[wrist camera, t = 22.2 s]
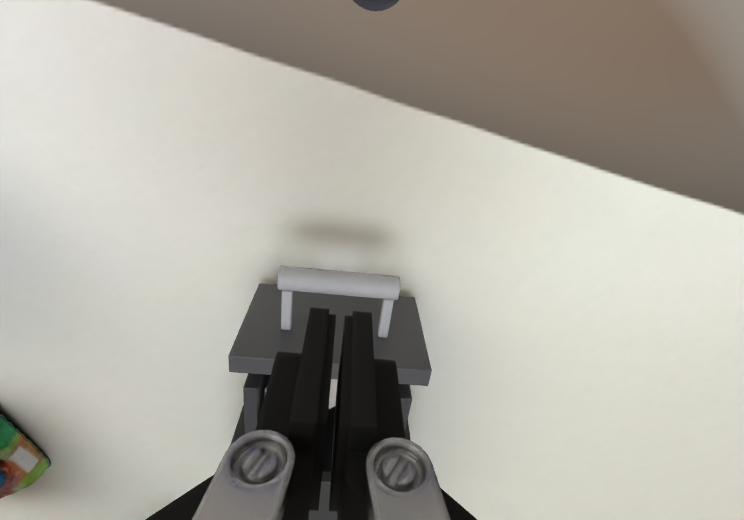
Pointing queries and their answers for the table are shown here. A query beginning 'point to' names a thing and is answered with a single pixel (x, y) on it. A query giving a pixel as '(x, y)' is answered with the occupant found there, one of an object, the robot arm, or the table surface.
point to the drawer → (341, 296)
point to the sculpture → (18, 460)
